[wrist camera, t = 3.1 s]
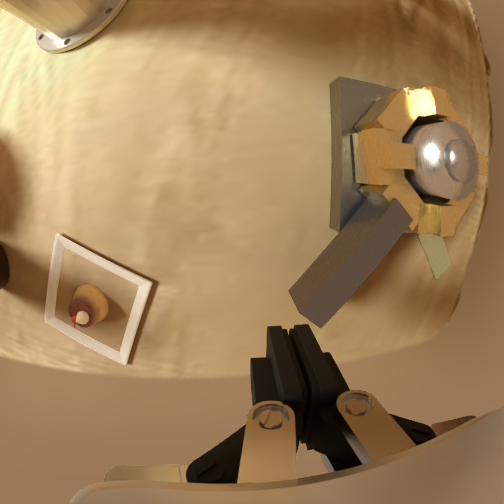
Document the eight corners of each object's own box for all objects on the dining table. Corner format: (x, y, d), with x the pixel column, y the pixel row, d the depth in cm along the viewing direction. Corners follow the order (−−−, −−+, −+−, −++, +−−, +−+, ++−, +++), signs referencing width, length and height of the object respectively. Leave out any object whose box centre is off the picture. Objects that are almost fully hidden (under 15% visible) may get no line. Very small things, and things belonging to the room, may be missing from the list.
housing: (329, 84, 21) (382, 42, 12) (457, 119, 23) (518, 113, 13) (324, 288, 27) (369, 344, 17) (447, 277, 28) (501, 310, 18)
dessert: (48, 317, 26) (29, 336, 22) (61, 230, 24) (36, 241, 19) (128, 361, 28) (116, 386, 24) (156, 278, 26) (142, 298, 21)
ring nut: (397, 76, 19) (432, 60, 13) (463, 165, 22) (499, 168, 16) (244, 255, 22) (249, 281, 17) (339, 328, 25) (361, 362, 20)
